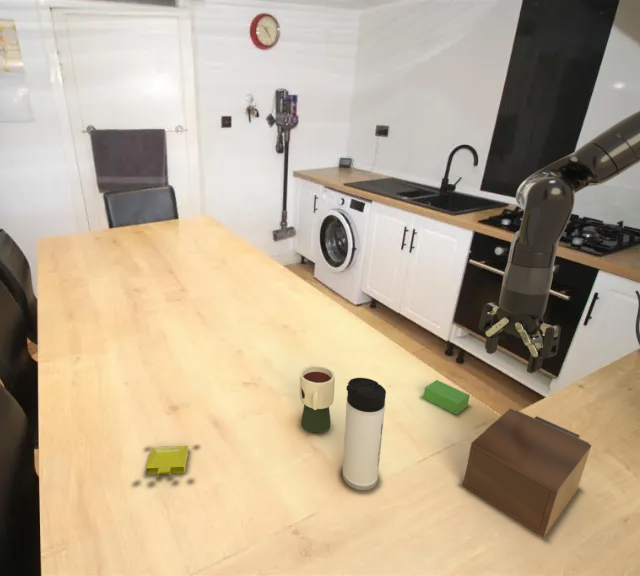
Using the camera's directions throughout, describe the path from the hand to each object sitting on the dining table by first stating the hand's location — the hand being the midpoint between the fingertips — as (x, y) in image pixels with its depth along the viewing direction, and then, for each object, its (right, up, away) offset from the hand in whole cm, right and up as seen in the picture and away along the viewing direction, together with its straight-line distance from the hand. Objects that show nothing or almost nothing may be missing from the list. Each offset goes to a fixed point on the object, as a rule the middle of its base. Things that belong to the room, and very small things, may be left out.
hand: (510, 361), depth 82 cm
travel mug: (-32, -20, -7) cm, 39 cm away
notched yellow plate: (-68, -20, -3) cm, 71 cm away
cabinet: (-5, -20, -10) cm, 23 cm away
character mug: (-38, -15, +7) cm, 41 cm away
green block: (-7, -12, +13) cm, 19 cm away
